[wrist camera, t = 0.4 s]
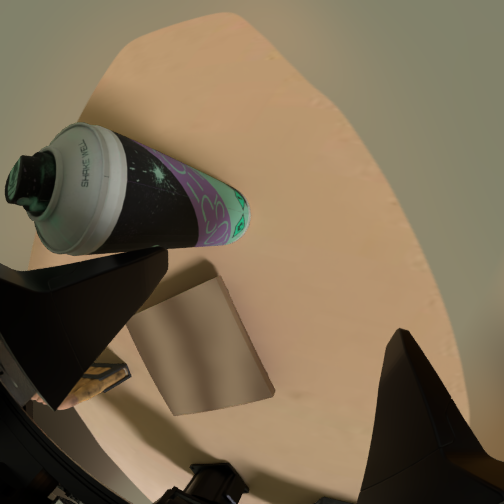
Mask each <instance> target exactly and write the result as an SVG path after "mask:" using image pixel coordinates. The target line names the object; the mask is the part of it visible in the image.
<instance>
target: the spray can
mask: <svg viewBox="0 0 504 504" xmlns="http://www.w3.org/2000/svg"><path fill="white" fill-rule="evenodd" d="M5 197H6V201H7V202H8V203H10V204H16V205H20V206H23V207H24V209H25V210H26V212H27V214H28V216H29V218H30V219H31V220H32V221H34V223H35V227H36V230H37V233H38V236H39V238H40V240H41V242H42V243H43V244H44V246H45V247H46V248H47V249H48V250H50V251H51V252H53V253H56V254H68V255H72V256H79V255H92V254H105V253H118V252H129V251H134V250H139V249H144V248H149V247H155V246H161V247H163V248H166V249H174V248H188V247H203V246H218V245H227V244H231V243H233V242H235V241H237V240H238V239H240V238H241V237H242V236H243V235H244V233H245V232H246V230H247V228H248V226H249V223H250V217H251V213H250V207H249V203H248V202H247V200H246V198H245V197H244V196H243V194H242V193H240V192H239V191H238V190H236V189H234V188H232V187H230V186H228V185H226V184H225V183H223V182H221V181H219V180H217V179H215V178H213V177H211V176H209V175H207V174H204V173H202V172H200V171H198V170H196V169H194V168H192V167H190V166H188V165H186V164H184V163H182V162H180V161H178V160H175V159H173V158H171V157H169V156H167V155H165V154H163V153H161V152H158V151H156V150H154V149H152V148H150V147H147V146H145V145H143V144H141V143H139V142H136V141H134V140H132V139H130V138H127V137H125V136H123V135H120V134H118V133H116V132H113V131H111V130H109V129H106V128H104V127H101V126H99V125H89V124H87V123H84V122H77V123H74V124H71V125H69V126H68V127H66V128H65V129H63V130H62V131H61V132H60V133H59V134H58V135H57V136H56V137H55V138H54V140H53V141H52V142H51V143H50V145H49V146H46V147H44V148H42V149H41V150H40V151H39V152H37V153H35V154H34V155H33V156H24V155H22V156H21V157H20V158H19V160H18V161H17V162H16V164H15V165H14V167H13V168H12V170H11V172H10V174H9V176H8V179H7V181H6V185H5Z"/></svg>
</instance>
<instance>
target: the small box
mask: <svg viewBox="0 0 504 504" xmlns="http://www.w3.org/2000/svg"><path fill="white" fill-rule="evenodd" d="M314 504H352V503H347V502H343V501H339V500H335V499H331V498H327V497H322V498H321V499H319V500H318V501H317V502H316V503H314Z"/></svg>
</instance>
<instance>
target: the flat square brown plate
mask: <svg viewBox="0 0 504 504" xmlns="http://www.w3.org/2000/svg"><path fill="white" fill-rule="evenodd" d="M126 326H127V328H128V330H129V332H130V335H131V337H132V339H133V341H134V343H135V345H136V348H137V350H138V352H139V354H140V356H141V358H142V360H143V362H144V364H145V366H146V368H147V370H148V372H149V373H150V375H151V377H152V379H153V381H154V383H155V385H156V386H157V388H158V390H159V392H160V393H161V395H162V397H163V399H164V400H165V402H166V404H167V406H168V407H169V409H170V411H171V412H172V414H173V415H174V416H179V415H187V414H194V413H200V412H206V411H212V410H218V409H223V408H228V407H233V406H238V405H242V404H247V403H251V402H255V401H259V400H263V399H267V398H271V397H273V396H274V393H275V389H274V387H273V385H272V383H271V381H270V379H269V377H268V374H267V372H266V371H265V369H264V367H263V365H262V362H261V360H260V358H259V356H258V354H257V352H256V350H255V348H254V346H253V344H252V342H251V340H250V338H249V336H248V334H247V331H246V329H245V327H244V325H243V323H242V321H241V319H240V317H239V314H238V312H237V310H236V308H235V306H234V304H233V301H232V299H231V297H230V295H229V292H228V289H227V288H226V286H225V284H224V282H223V279H222V277H221V276H218V277H215V278H213V279H211V280H209V281H207V282H204V283H202V284H200V285H198V286H196V287H194V288H191V289H189V290H187V291H185V292H183V293H181V294H178V295H176V296H174V297H172V298H170V299H168V300H165V301H163V302H161V303H159V304H157V305H155V306H152V307H150V308H148V309H146V310H144V311H141V312H139V313H137V314H135V315H133V316H132V317H131V318H130V320H129V321H128V322H127V323H126Z"/></svg>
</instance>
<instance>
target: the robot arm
mask: <svg viewBox="0 0 504 504" xmlns="http://www.w3.org/2000/svg"><path fill="white" fill-rule="evenodd" d="M167 270H168V250H167V249H166V248H163V247H161V246H155V247H149V248H144V249H139V250H134V251H129V252H124V253H119V254H114V255H109V256H105V257H100V258H95V259H90V260H85V261H81V262H76V263H71V264H66V265H61V266H55V267H49V268H43V269H36V270H30V271H16V270H13V269H11V268H9V267H7V266H5V265H3V264H1V263H0V504H75V503H73V502H72V501H70V500H67V499H65V498H62V497H60V496H55V495H54V494H52V492H53V490H54V489H55V488H56V487H58V488H59V489H61V490H62V491H64V492H65V493H66V494H65V495H66V496H67V497H69V498H70V499H72V500H74V501H76V502H77V503H78V504H133V503H131V502H130V501H128V500H126V499H125V498H123V497H122V496H120V495H119V494H117V493H116V492H114V491H113V490H111V489H110V488H108V487H107V486H106V485H104V484H103V483H102V482H100V481H99V480H98V479H96V478H95V477H94V476H92V475H91V474H90V473H88V472H87V471H86V470H85V469H84V468H82V467H81V466H80V465H79V464H78V463H76V462H75V461H74V460H73V459H72V458H71V457H70V456H68V455H67V454H66V453H65V452H64V451H63V450H62V449H61V448H60V447H59V446H58V445H57V444H56V443H55V442H53V441H52V440H51V439H50V438H49V437H48V436H47V435H46V434H45V432H43V430H41V428H40V427H39V426H38V425H37V424H36V423H35V422H34V421H33V402H32V400H31V398H32V397H33V396H34V395H35V394H36V393H37V394H38V395H39V396H40V397H41V398H42V399H43V401H44V402H45V403H46V404H47V405H48V406H49V407H50V408H51V409H52V410H53V411H56V410H57V409H58V407H59V406H60V405H61V403H62V402H63V401H64V399H65V398H66V397H67V396H68V394H69V393H70V392H71V390H72V389H73V388H74V387H75V385H76V384H77V383H78V381H79V380H80V379H81V378H82V376H83V375H84V373H85V372H86V371H87V370H88V369H89V367H90V366H91V365H92V364H93V363H94V361H95V360H96V359H97V358H98V356H99V355H100V354H101V353H102V352H103V350H104V349H105V348H106V347H107V346H108V344H109V343H110V342H111V341H112V340H113V338H114V337H115V336H116V335H117V334H118V332H119V331H120V330H121V329H122V328H123V327H124V325H125V324H126V323H127V322H128V321H129V320H130V318H131V317H132V316H133V315H134V314H135V313H136V312H137V310H138V309H139V308H140V307H141V306H142V305H143V304H144V302H145V301H146V300H147V299H148V297H149V296H150V295H151V293H152V292H153V290H154V289H155V288H156V286H157V285H158V283H159V282H160V281H161V279H162V278H163V277H164V275H165V274H166V272H167ZM190 469H191V470H192V471H193V472H194V474H195V475H194V476H193V478H192V479H191V481H190V482H189V483H188V485H187V486H186V488H185V489H184V490H183V491H182V490H180V489H178V488H177V487H175V486H174V487H173V488H172V489H168V490H167V491H166V492H165V494H164V495H163V496H162V497H161V498H159V499H158V500H157V501H155V502H154V503H153V504H238V502H239V500H240V498H241V496H242V494H243V493H249V488H248V487H247V486H246V484H245V483H244V482H243V481H242V479H241V478H240V477H239V475H238V474H237V473H236V471H235V470H234V469H233V467H232V466H231V465H230V464H229V463H218V464H191V466H190ZM360 491H361V492H360V493H359V497H358V500H357V504H504V462H502V461H499V460H496V459H494V458H492V457H491V456H489V455H488V454H487V453H486V452H485V450H484V449H483V447H482V446H481V444H480V443H479V441H478V439H477V438H476V436H475V435H474V434H473V432H472V430H471V429H470V427H469V426H468V424H467V422H466V421H465V419H464V418H463V416H462V415H461V413H460V411H459V409H458V408H457V406H456V404H455V403H454V401H453V399H451V396H450V394H449V392H448V391H447V389H446V387H445V386H444V384H443V383H442V381H441V379H440V378H439V376H438V374H437V373H436V371H435V370H434V368H433V367H432V365H431V363H430V362H429V360H428V359H427V357H426V356H425V354H424V353H423V351H422V350H421V348H420V347H419V345H418V344H417V342H416V341H415V339H414V338H413V336H412V335H411V334H410V332H409V331H408V330H405V329H401V328H399V329H397V330H396V332H395V333H394V335H393V336H392V338H391V339H390V341H389V343H388V344H387V347H386V350H385V356H384V361H383V367H382V372H381V377H380V382H379V388H378V397H377V406H376V413H375V421H374V427H373V433H372V439H371V445H370V450H369V455H368V460H367V465H366V469H365V474H364V478H363V482H362V486H361V490H360Z"/></svg>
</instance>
